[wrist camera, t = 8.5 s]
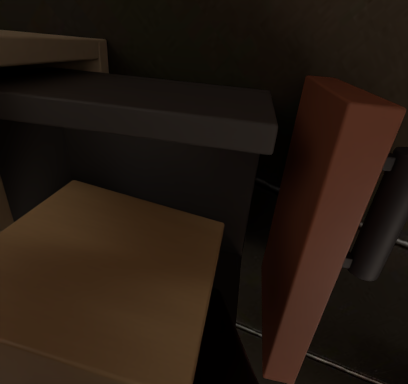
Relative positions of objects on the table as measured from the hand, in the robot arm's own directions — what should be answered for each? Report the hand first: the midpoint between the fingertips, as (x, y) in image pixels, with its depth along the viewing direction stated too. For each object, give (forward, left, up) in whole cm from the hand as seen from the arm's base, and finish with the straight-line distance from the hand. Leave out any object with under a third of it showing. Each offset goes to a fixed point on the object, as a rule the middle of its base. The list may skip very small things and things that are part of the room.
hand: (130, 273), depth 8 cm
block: (0, 0, -1) cm, 1 cm away
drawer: (-2, 0, -7) cm, 7 cm away
